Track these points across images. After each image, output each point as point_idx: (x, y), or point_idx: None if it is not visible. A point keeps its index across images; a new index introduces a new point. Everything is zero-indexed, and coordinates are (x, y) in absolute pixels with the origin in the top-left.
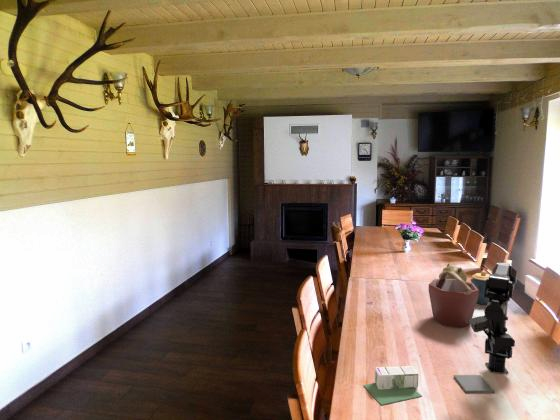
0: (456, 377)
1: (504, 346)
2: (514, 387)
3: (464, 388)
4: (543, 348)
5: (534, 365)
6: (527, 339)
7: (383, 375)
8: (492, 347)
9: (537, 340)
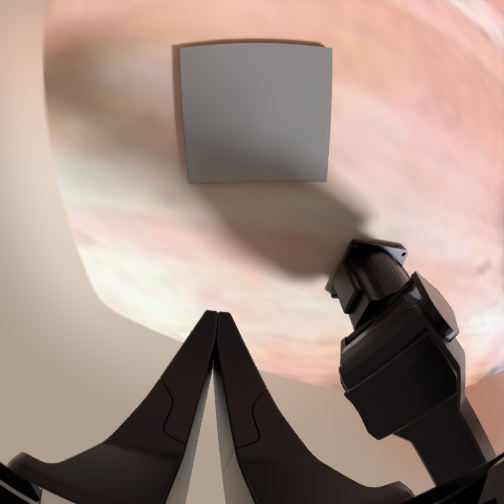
0: (308, 49)
1: (355, 381)
2: (237, 273)
3: (199, 46)
4: None
5: None
6: None
7: None
8: (169, 364)
9: None
